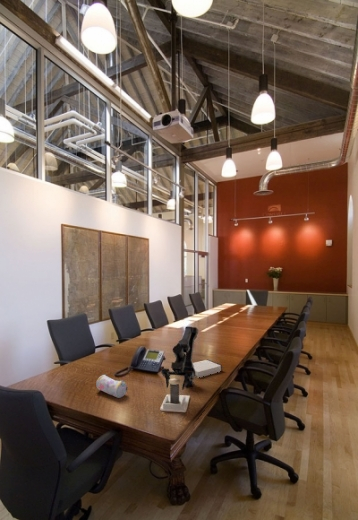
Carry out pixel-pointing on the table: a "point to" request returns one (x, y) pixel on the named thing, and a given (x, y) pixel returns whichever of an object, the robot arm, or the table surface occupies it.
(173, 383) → the disc
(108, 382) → the pencil case
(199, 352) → the table surface
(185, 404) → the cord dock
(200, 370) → the disc drive
